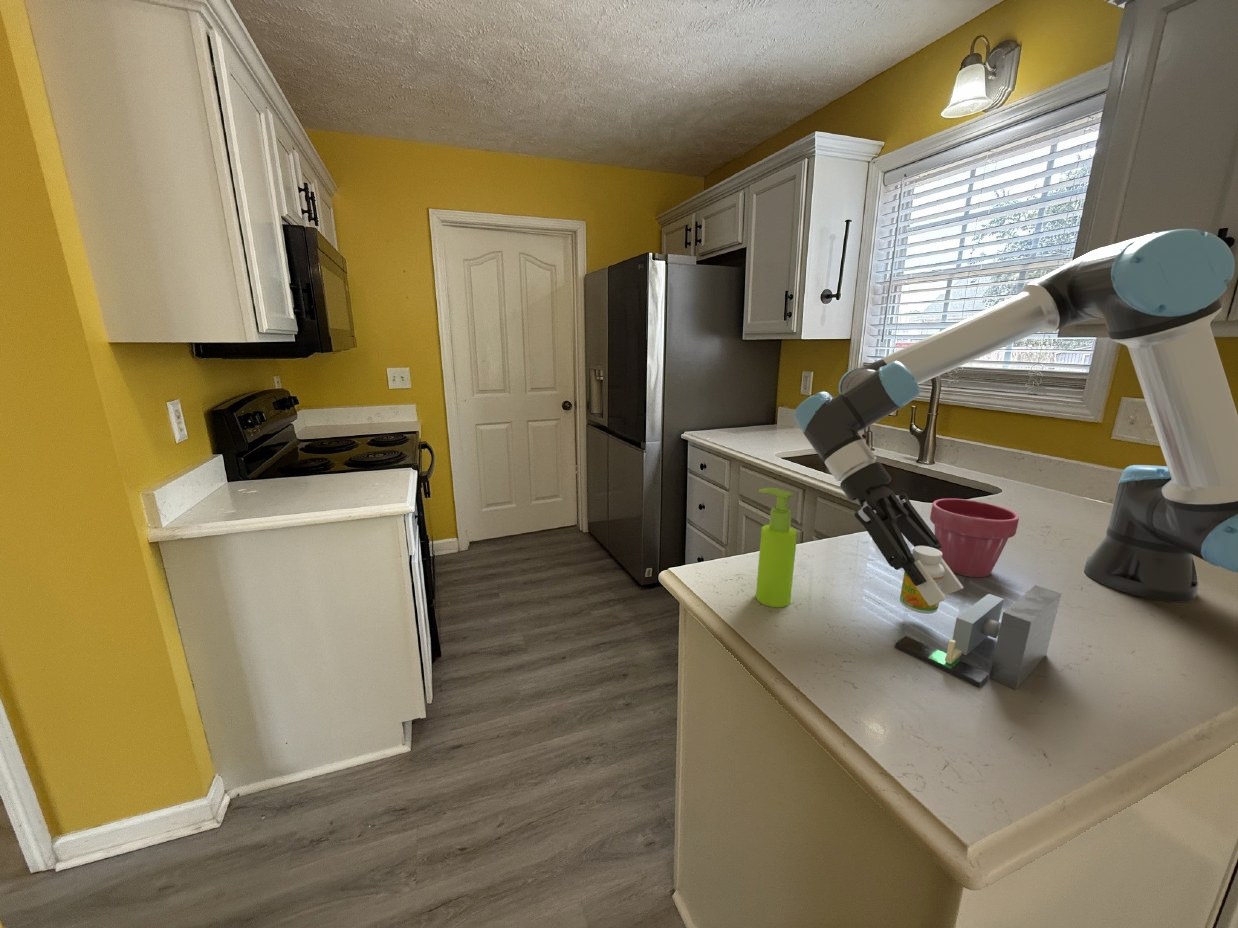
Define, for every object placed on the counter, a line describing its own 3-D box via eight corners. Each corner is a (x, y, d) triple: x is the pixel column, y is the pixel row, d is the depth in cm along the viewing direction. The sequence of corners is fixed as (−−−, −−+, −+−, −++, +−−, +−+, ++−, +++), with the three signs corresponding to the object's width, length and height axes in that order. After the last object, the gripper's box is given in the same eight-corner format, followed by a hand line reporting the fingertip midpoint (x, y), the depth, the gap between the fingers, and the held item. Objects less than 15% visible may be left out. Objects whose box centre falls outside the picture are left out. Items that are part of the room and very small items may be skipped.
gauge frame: (894, 647, 75) (904, 586, 73) (942, 613, 85) (952, 559, 82) (1006, 700, 64) (1021, 631, 62) (1046, 654, 74) (1061, 593, 71)
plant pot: (962, 550, 110) (972, 495, 107) (1025, 580, 97) (1039, 517, 94) (907, 556, 107) (916, 499, 104) (964, 587, 94) (976, 523, 91)
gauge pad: (939, 658, 71) (946, 625, 69) (982, 623, 80) (988, 593, 78) (967, 671, 68) (975, 637, 67) (1008, 633, 77) (1015, 602, 76)
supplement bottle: (892, 598, 84) (900, 544, 81) (922, 597, 84) (932, 543, 82) (913, 615, 79) (923, 558, 76) (945, 614, 79) (956, 557, 77)
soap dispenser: (761, 585, 94) (770, 483, 89) (796, 599, 89) (807, 491, 84) (744, 596, 90) (752, 489, 85) (779, 611, 85) (790, 499, 80)
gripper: (868, 475, 95) (950, 588, 86) (811, 492, 84) (898, 623, 75) (901, 453, 89) (992, 571, 80) (845, 468, 79) (942, 606, 70)
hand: (946, 596), depth 78 cm, fingers closed on supplement bottle, 5 cm apart
